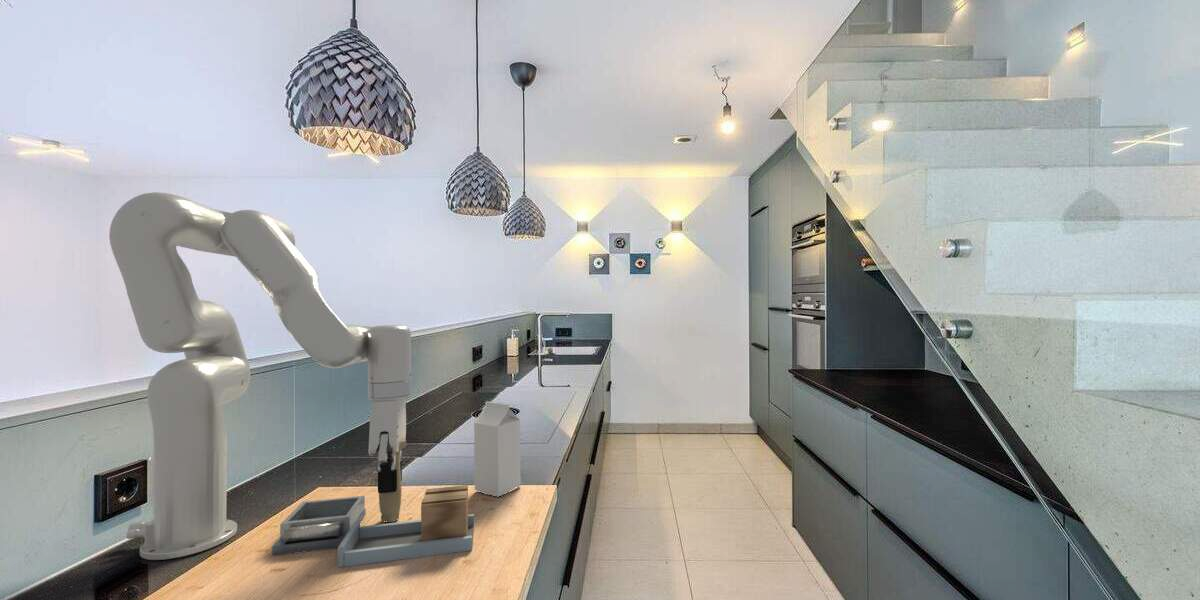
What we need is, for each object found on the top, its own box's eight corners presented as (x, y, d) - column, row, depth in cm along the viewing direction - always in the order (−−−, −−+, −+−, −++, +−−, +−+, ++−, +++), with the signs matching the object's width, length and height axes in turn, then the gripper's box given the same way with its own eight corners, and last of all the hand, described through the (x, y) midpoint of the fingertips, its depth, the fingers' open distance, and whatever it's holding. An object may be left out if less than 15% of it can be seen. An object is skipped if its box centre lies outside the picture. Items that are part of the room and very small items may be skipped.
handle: (387, 529, 84) (387, 445, 84) (368, 520, 87) (368, 440, 88) (411, 519, 87) (411, 439, 88) (393, 511, 91) (393, 434, 92)
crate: (421, 549, 75) (421, 503, 75) (427, 529, 82) (426, 488, 82) (466, 543, 77) (465, 499, 77) (468, 525, 83) (467, 484, 84)
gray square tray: (272, 555, 75) (272, 530, 75) (301, 523, 87) (301, 501, 87) (346, 546, 77) (346, 522, 78) (365, 516, 89) (365, 495, 89)
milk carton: (498, 498, 97) (497, 407, 97) (474, 492, 101) (473, 404, 101) (521, 487, 103) (520, 401, 103) (497, 481, 107) (497, 399, 107)
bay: (337, 567, 71) (337, 547, 71) (355, 538, 80) (355, 521, 80) (472, 550, 76) (472, 531, 76) (474, 524, 85) (474, 508, 85)
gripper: (378, 384, 95) (379, 474, 95) (355, 398, 79) (356, 507, 79) (417, 383, 97) (418, 471, 97) (402, 396, 81) (403, 502, 80)
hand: (390, 486), depth 88 cm, fingers closed on handle, 4 cm apart
